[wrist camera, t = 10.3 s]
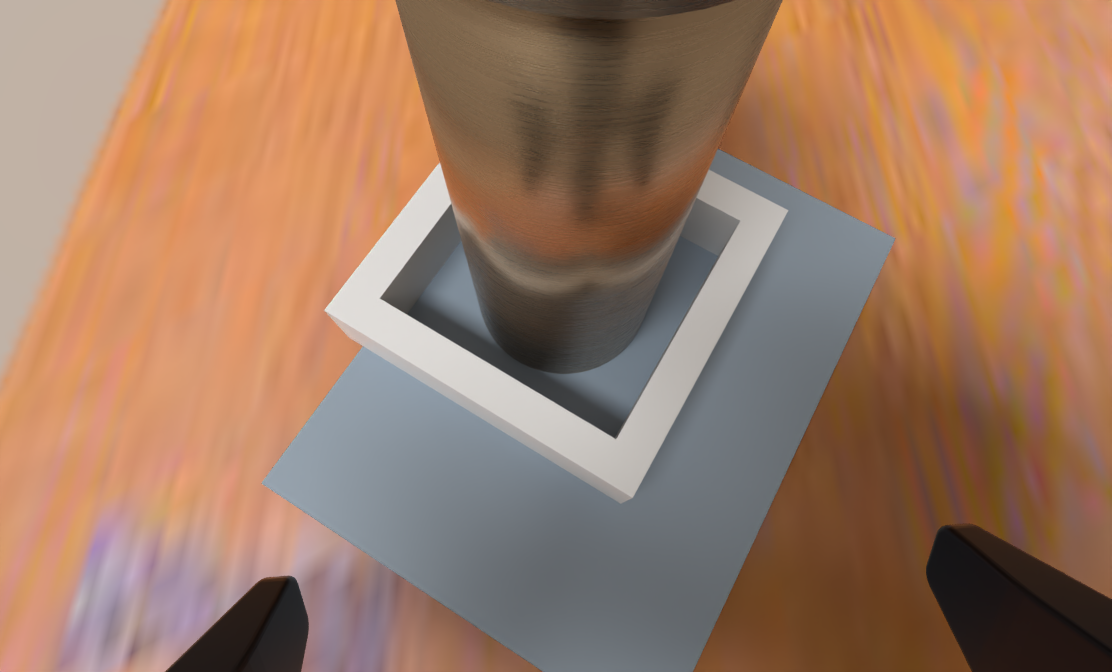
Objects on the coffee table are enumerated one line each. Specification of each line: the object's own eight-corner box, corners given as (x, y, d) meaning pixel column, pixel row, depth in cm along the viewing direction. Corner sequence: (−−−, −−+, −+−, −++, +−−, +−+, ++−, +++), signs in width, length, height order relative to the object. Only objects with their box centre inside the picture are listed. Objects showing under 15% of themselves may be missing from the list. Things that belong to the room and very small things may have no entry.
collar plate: (649, 735, 16) (676, 781, 13) (262, 477, 18) (204, 463, 15) (878, 252, 20) (938, 201, 17) (553, 86, 22) (555, 13, 19)
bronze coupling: (655, 396, 18) (998, -62, 4) (452, 377, 18) (171, -133, 4) (663, 216, 19) (920, -495, 6) (479, 199, 19) (340, -537, 6)
